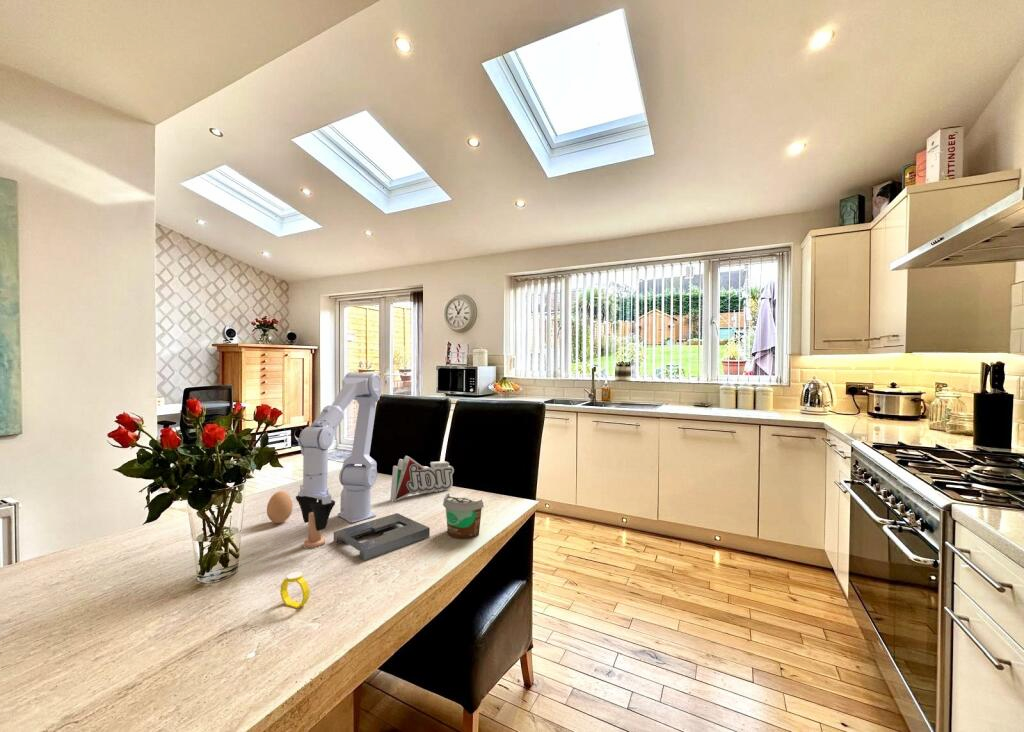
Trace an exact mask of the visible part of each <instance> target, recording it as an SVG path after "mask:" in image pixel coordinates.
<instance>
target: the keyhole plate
mask: <svg viewBox="0 0 1024 732" xmlns="http://www.w3.org/2000/svg"><path fill="white" fill-rule="evenodd" d="M398 525H400V526H399V527H397V528H394V529H391V530H388V531H384V532H383V533H382V535H380V536H377V537H374V538H371V539H368V540H366V541H362V542H360V541H358V540H356V538H358V537H361V536H364V535H368V534H371V533H375V532H378V531H381V530H386V529H388V528H390V527H394V526H398ZM430 530H431V529H430V527H429V526H427V525H424V524H422V523H420V522H418V521H416V520H414V519H411V518H409V517H406V516H404V515H403V514H400V513H393V514H390V515H386V516H382V517H380V518H375V519H372V520H369V521H365V522H362V523H359V524H355V525H352V526H348V527H345V528H342V529H338V530H335V531H333V542H334V543H336V544H340V543H342V542H345V543H346V544H348V545H349V546H351V547H352V548H353V549H355V550H357V551H359V559H360V560H362V561H364V562H366V561H368V560H370V559H373V558H375V557H378V556H381V555H384V554H387V553H390V552H392V551H395V550H397V549H401V548H403V547H406V546H409V545H411V544H414V543H417V542H419V541H420V542H421V541H422V540H425V539H428V538H430V534H431V533H430Z"/></svg>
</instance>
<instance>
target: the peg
mask: <svg viewBox="0 0 1024 732" xmlns="http://www.w3.org/2000/svg"><path fill="white" fill-rule="evenodd" d="M307 532H308V533H307V535H308V538H306V539H304V541H303V547H304V546H305V547H306V548H305V547H304V548H305V549H315V547H317V548H320V547H322V546H324V545H325V544H326V537H325V536H322V530H319V531H317V530H316V527H315V518H314V514H313V512H310V513H309V522H308V531H307ZM319 546H320V547H319Z"/></svg>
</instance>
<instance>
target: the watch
mask: <svg viewBox="0 0 1024 732" xmlns="http://www.w3.org/2000/svg"><path fill="white" fill-rule="evenodd" d="M295 582H296V583H297V584H298V585H299V586H300V588H301V592H302V600H301V602H298V601H294V600H292V598H291V596H290V594H289V591H288V585H289V584H288V583H295ZM279 593H280V596H281V600H282V602H283V603H284V605H285V606H286V607H290V608H295V609H300V608H301V607H303V606H304V605H305V604H307V603H308V600H309V598H310V586H309V584H308V582H307V580H306V579H305V578H304V573H303V572H302V571H294V572H291V573H288V574H287V576H286V578H285V579H283V580H282V583H281V585H280V592H279Z"/></svg>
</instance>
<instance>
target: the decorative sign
mask: <svg viewBox="0 0 1024 732" xmlns="http://www.w3.org/2000/svg"><path fill="white" fill-rule="evenodd" d="M397 462H398V463H397V465H393V466H392V475H391V476H392V477H391V485H390V486H391V487H390V497H389V500H390V499H391V501H392V500H393V501H395V502H397V501H396V500H398V501H400V500H401V499H403V498H406V497H408V496H410V495H416V494H420V495H422V494H429V493H433V492H435V493H439V492H444V491H443V490H447V491H449V490H451V488H453V487H452V486H453V485H454V484H453V483H454V482H453V474H454V472H455V469H454V467H453V466H452V465H450V462H448V461H445V460H442V461H430V463H429V464H430V467H429V466H426V465H425V466H424V465H421V464H420V463H418V462H417V461H416V460H415V459H414V458H412V457H410V456H408V455H405V456H404V458H403V459H402V458H399V459H398V461H397ZM448 489H449V490H448ZM438 491H439V492H438ZM393 501H392V502H393Z"/></svg>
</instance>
